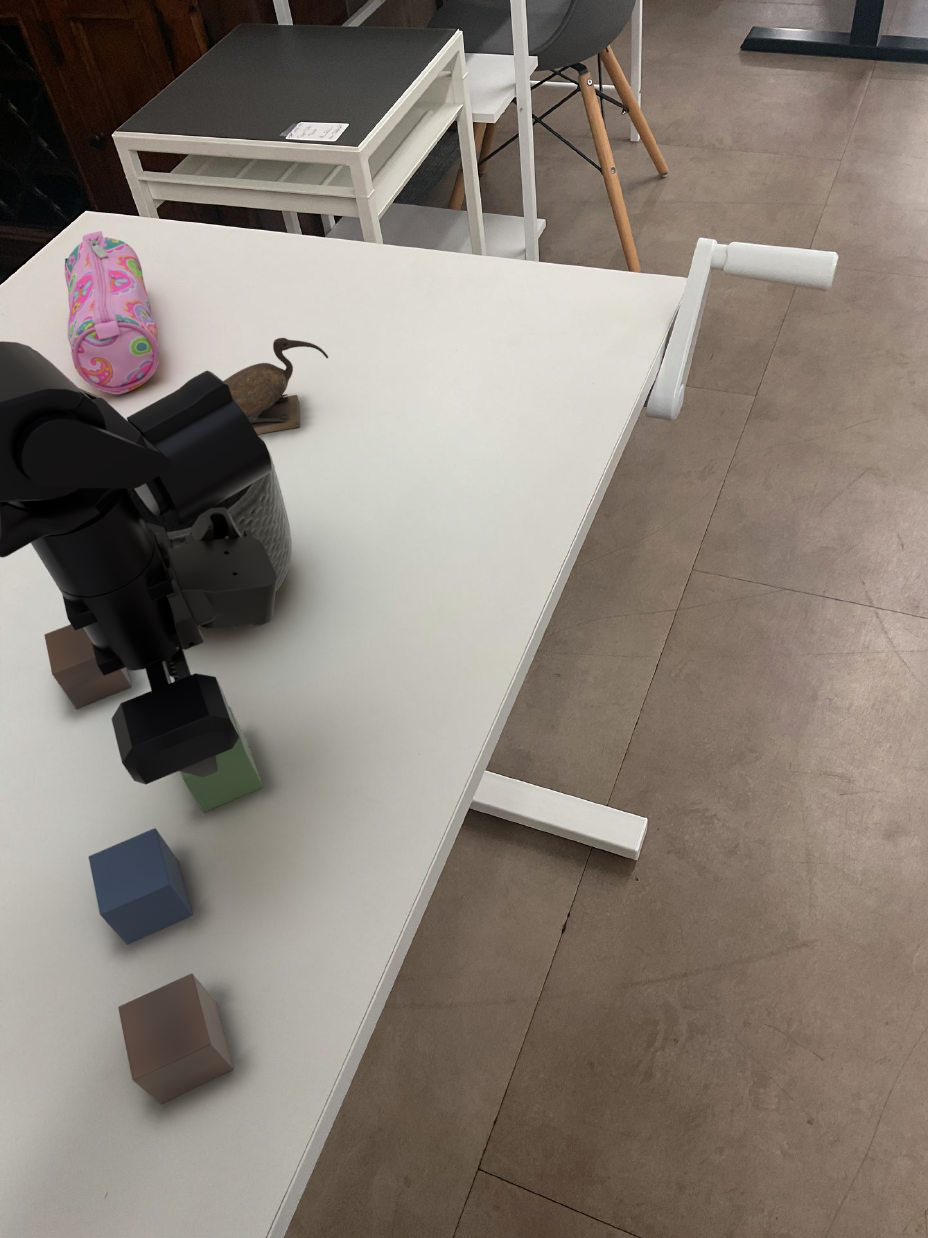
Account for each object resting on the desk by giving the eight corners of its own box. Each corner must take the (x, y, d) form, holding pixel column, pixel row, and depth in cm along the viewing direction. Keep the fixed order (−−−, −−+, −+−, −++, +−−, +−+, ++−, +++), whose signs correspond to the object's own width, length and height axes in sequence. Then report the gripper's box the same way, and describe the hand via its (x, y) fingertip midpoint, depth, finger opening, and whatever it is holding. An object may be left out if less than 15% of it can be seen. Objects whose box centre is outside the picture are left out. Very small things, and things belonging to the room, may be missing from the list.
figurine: (340, 393, 102) (321, 318, 96) (342, 420, 99) (322, 345, 93) (204, 417, 102) (175, 343, 96) (202, 444, 99) (172, 371, 93)
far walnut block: (76, 709, 79) (51, 674, 76) (67, 669, 82) (43, 634, 78) (131, 687, 80) (110, 651, 76) (121, 648, 83) (100, 612, 79)
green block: (203, 813, 71) (182, 779, 68) (189, 765, 74) (168, 730, 71) (263, 787, 72) (245, 752, 69) (247, 740, 75) (229, 705, 72)
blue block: (126, 945, 65) (99, 915, 62) (114, 887, 68) (87, 856, 65) (193, 915, 66) (170, 884, 63) (178, 860, 69) (155, 827, 66)
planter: (343, 564, 86) (307, 446, 76) (235, 679, 79) (181, 566, 69) (224, 514, 92) (177, 399, 82) (114, 617, 85) (49, 504, 75)
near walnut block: (160, 1104, 59) (132, 1081, 55) (145, 1033, 61) (117, 1006, 58) (234, 1069, 59) (210, 1044, 56) (215, 1000, 62) (192, 972, 59)
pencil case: (80, 308, 119) (47, 236, 113) (155, 288, 120) (127, 216, 114) (88, 410, 105) (51, 335, 99) (173, 386, 106) (143, 311, 100)
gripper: (288, 616, 52) (350, 778, 63) (203, 420, 63) (268, 587, 75) (75, 700, 50) (179, 852, 61) (28, 482, 61) (123, 644, 73)
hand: (193, 720), depth 68 cm, fingers open, 9 cm apart
